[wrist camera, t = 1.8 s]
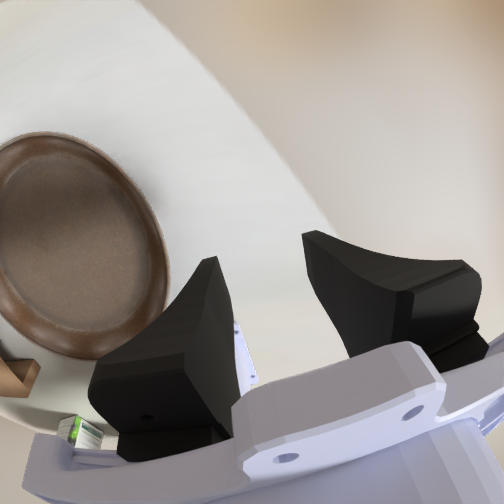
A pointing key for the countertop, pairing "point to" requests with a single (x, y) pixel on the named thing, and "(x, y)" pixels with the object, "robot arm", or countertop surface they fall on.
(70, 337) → the plant saucer
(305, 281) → the countertop surface
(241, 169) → the countertop surface
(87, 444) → the syrup box
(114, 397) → the robot arm
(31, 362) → the walnut shelf
